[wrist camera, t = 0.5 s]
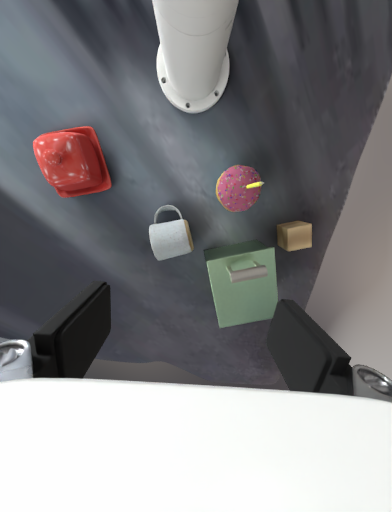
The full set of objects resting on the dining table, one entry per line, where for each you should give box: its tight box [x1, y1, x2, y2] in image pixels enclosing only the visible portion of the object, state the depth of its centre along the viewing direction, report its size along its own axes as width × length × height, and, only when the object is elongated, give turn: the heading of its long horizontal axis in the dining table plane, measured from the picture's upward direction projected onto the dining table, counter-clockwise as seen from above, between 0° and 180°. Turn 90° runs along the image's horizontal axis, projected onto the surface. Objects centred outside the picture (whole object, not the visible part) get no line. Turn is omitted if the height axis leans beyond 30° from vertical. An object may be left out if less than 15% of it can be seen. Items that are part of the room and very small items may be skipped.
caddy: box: [204, 240, 268, 318], centre depth 42 cm, size 15×13×9 cm
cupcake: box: [216, 165, 264, 212], centre depth 34 cm, size 9×8×12 cm
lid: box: [206, 247, 278, 328], centre depth 35 cm, size 16×13×6 cm
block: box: [277, 221, 312, 251], centre depth 41 cm, size 5×5×5 cm
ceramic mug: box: [149, 205, 194, 261], centre depth 38 cm, size 11×8×8 cm
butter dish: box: [33, 126, 112, 198], centre depth 33 cm, size 12×12×8 cm
